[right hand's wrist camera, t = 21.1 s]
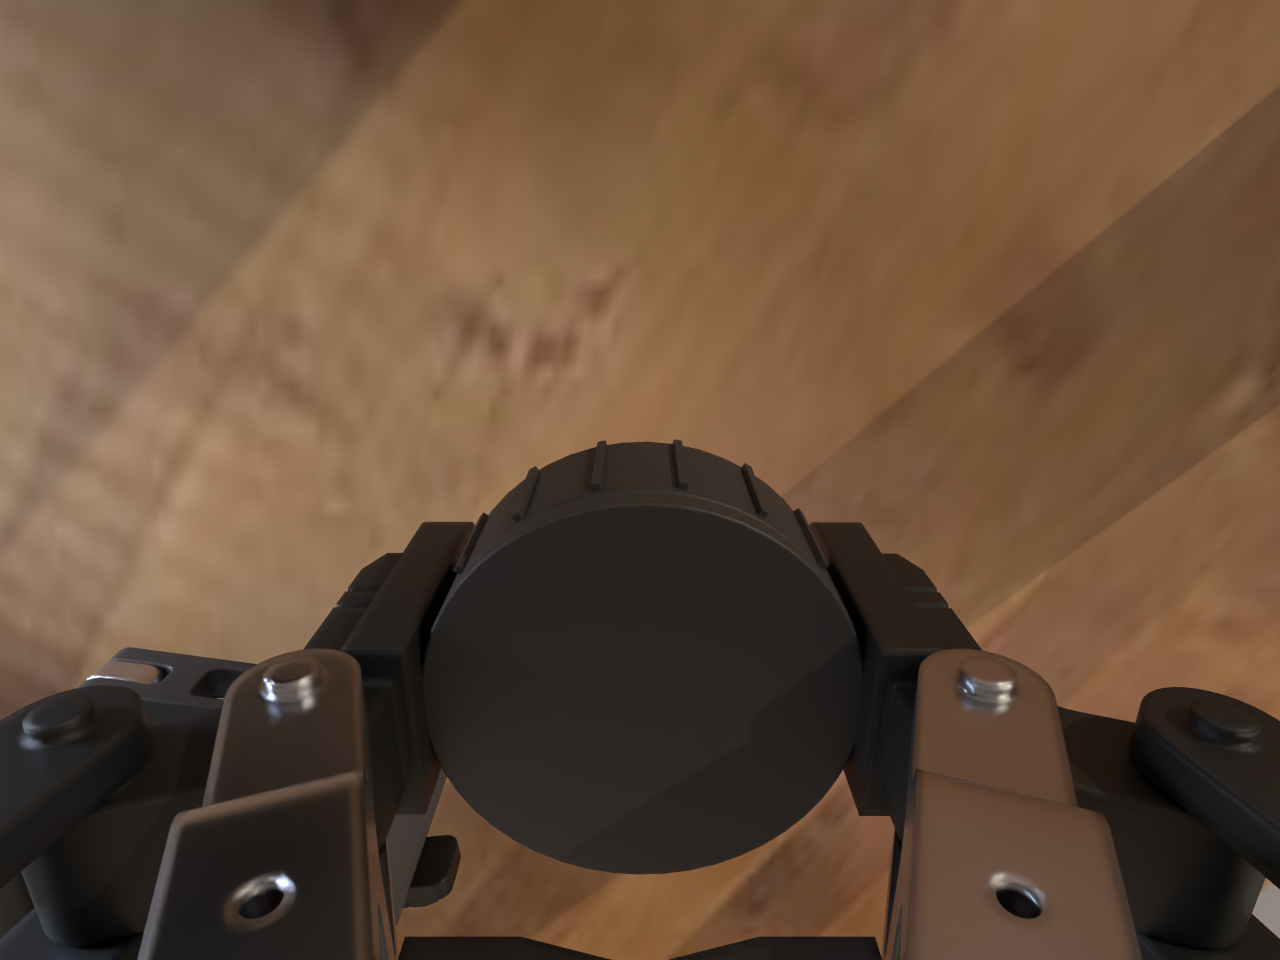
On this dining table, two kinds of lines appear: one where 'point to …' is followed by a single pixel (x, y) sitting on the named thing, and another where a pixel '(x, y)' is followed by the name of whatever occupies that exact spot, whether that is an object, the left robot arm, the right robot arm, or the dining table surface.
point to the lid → (642, 663)
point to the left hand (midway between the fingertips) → (437, 807)
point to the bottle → (409, 846)
